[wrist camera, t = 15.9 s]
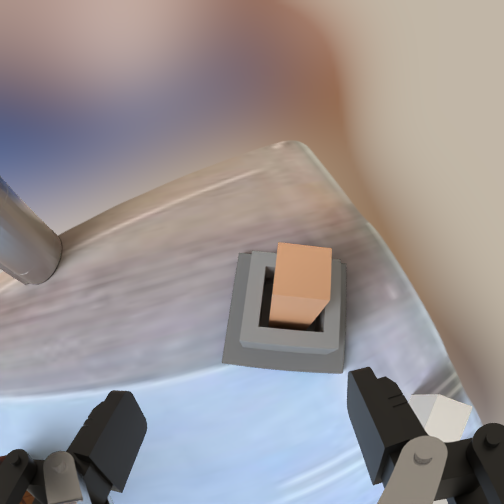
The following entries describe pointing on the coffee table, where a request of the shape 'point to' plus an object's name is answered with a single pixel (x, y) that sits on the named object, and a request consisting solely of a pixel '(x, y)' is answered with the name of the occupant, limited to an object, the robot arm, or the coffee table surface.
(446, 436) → the white cube
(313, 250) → the orange rectangular block
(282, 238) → the coffee table surface
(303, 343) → the well
